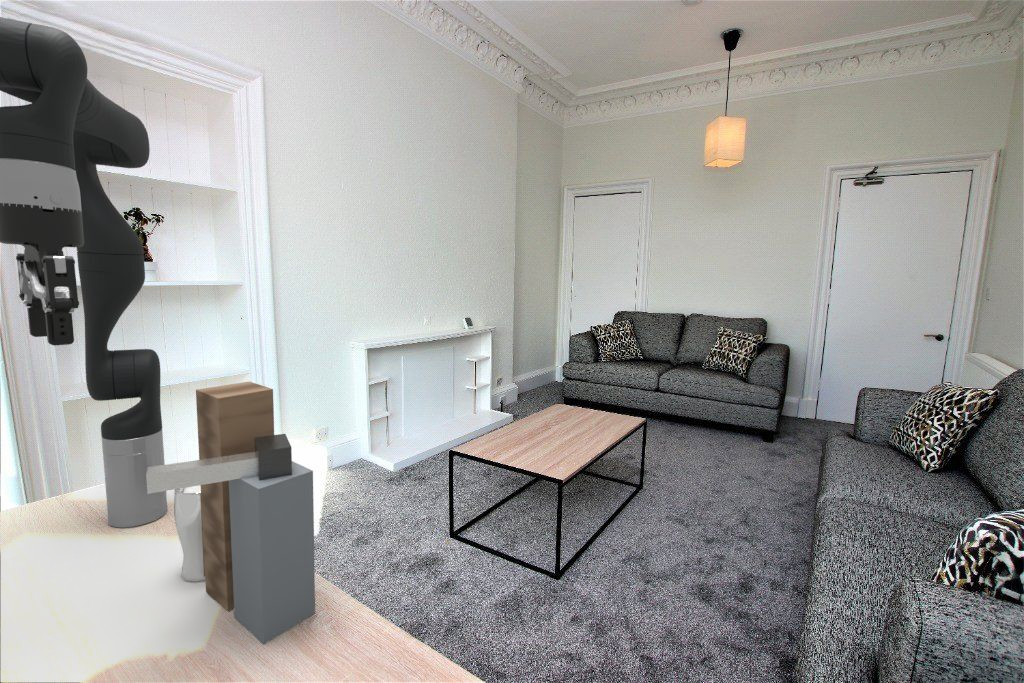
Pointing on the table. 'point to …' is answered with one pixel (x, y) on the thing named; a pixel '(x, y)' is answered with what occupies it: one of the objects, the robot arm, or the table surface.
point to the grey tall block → (273, 551)
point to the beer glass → (190, 532)
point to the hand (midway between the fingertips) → (51, 340)
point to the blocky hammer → (225, 466)
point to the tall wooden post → (223, 432)
